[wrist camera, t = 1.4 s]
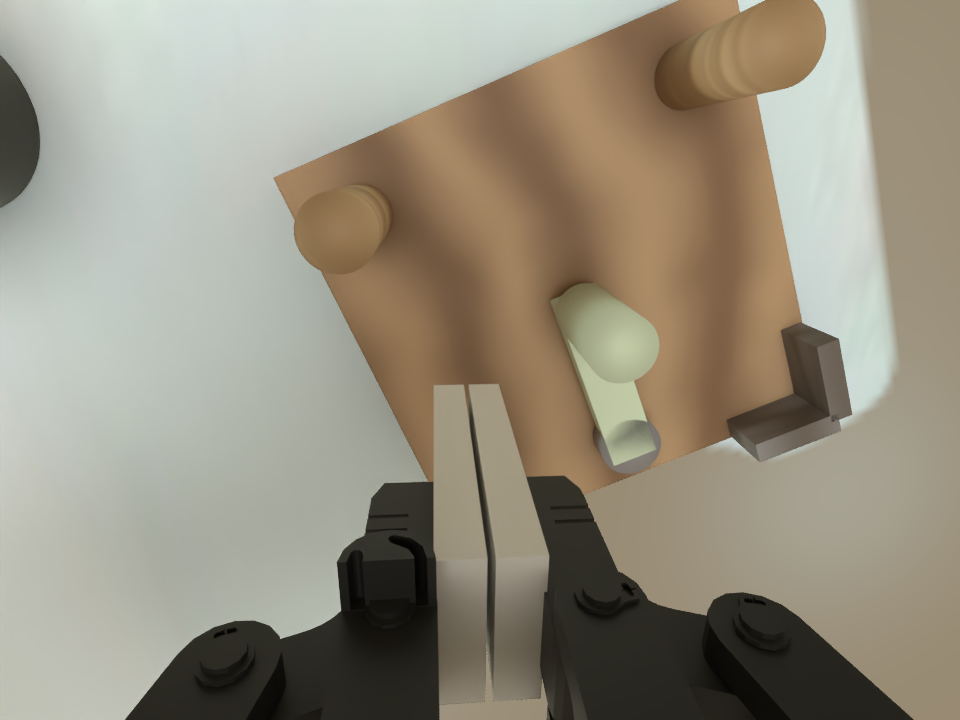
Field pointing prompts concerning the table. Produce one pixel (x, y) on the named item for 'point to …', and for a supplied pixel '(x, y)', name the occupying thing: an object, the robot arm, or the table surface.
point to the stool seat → (587, 240)
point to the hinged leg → (611, 371)
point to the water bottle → (15, 136)
